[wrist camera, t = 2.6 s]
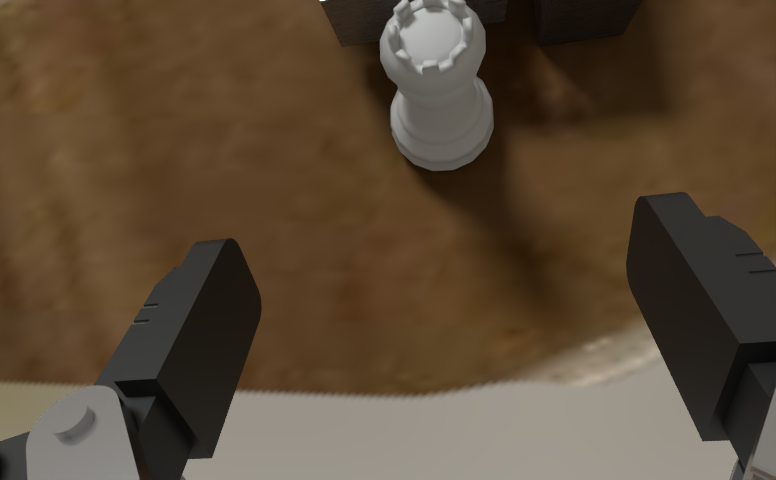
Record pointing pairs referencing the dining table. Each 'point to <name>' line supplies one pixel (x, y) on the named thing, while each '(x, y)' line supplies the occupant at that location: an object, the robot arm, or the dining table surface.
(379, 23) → the gauge plate
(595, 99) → the dining table surface
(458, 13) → the rook chess piece
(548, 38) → the gauge frame
